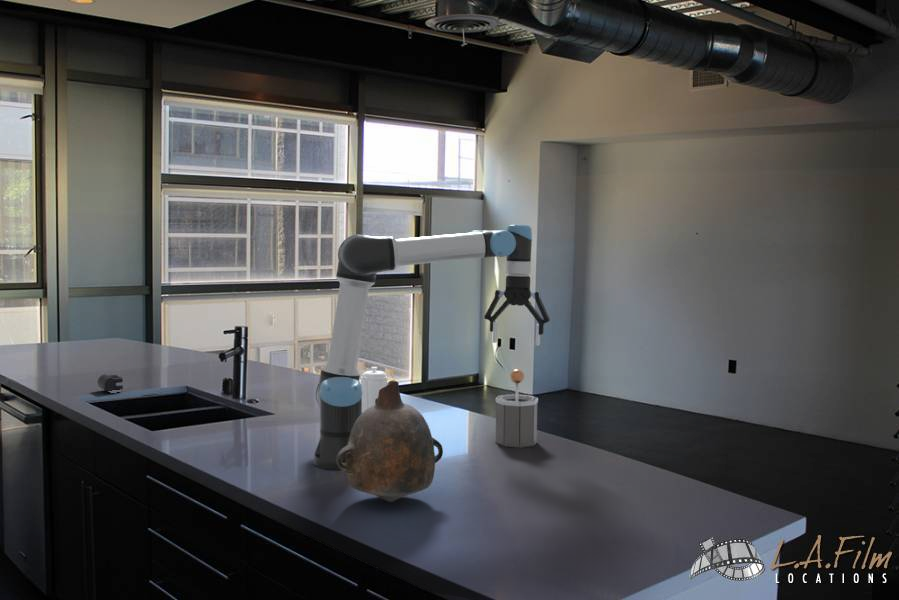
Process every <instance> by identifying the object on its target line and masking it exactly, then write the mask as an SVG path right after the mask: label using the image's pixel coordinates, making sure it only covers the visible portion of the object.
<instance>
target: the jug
mask: <svg viewBox="0 0 899 600" xmlns="http://www.w3.org/2000/svg"><path fill="white" fill-rule="evenodd" d="M399 386H400V385H399V381H396V380H394V379H391V380H389V381H387V385H386V386H385V387H383V388H381V389H380V390H379V395H378V398H376V400H375V405H373V406H371V407H369V408H368V409H366V410H365V411H364V412H363V413H362V414H361V415H360V416H359V417H358V418H357V420H356V422H355V424H354V426H353V428H352V430H351V433H350V437H349V441H348V445H347V446H345V447H344V448H343V449H341V450H340V451H339V453H338V455H337V459H336V462H337V465H338V467H339V468H340V469H341V471H343V472H345V475H346V478H347V482H348V484H349V485H350V486H351V487H352V488H353V489H355V490H357V491H359V492H361V493H365V494H367V495H368V494H369V495H373V496H376V497H378V498H380V499H382V500H384V501H386V502H390V503H393V502H395V501H397V500H399V499H402V498H404V497H406V496H409V495H413V494H416V493H419V492H422V491H424V490H426V489H428V488H429V487H430V486H431V485H432V483H433V481H434V478H435V477H434V476H435V470H436V468H435V467H436V464H437V462H439V461H440V460H441V459H442V457H443V453H444V450H443V449H444V448H443V446H442V444H441V442H440V441H438V440H437V439H436V438H434V437H432V432H431V428H430V427H429V425H428V422H427V420H426V419H425V417H424V416H423V415H422V413H421V412H419V410H418V409H417V408H415V407H413V406H412V405H410V404H408V403H404V402H403V400H402V398H401V392H400V387H399ZM435 447H436V448H437V452H438V453H437V454H436V455H435ZM344 455H346V463H342V457H343V456H344Z"/></svg>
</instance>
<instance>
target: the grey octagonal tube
mask: <svg viewBox="0 0 899 600" xmlns="http://www.w3.org/2000/svg"><path fill="white" fill-rule="evenodd" d="M538 403H539V398H538V397H536V396H533V395H528V394H519V397H518V401H515V393H512V394H501V395H498V396H497V397H495V406H496V407H495V443H496V444H498V445H499V446H502V447H508V448H516V449H517V448H529V447H533V446H535V445H537V441H538V440H537V439H538V438H537V437H538V434H537V433H538Z"/></svg>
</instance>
